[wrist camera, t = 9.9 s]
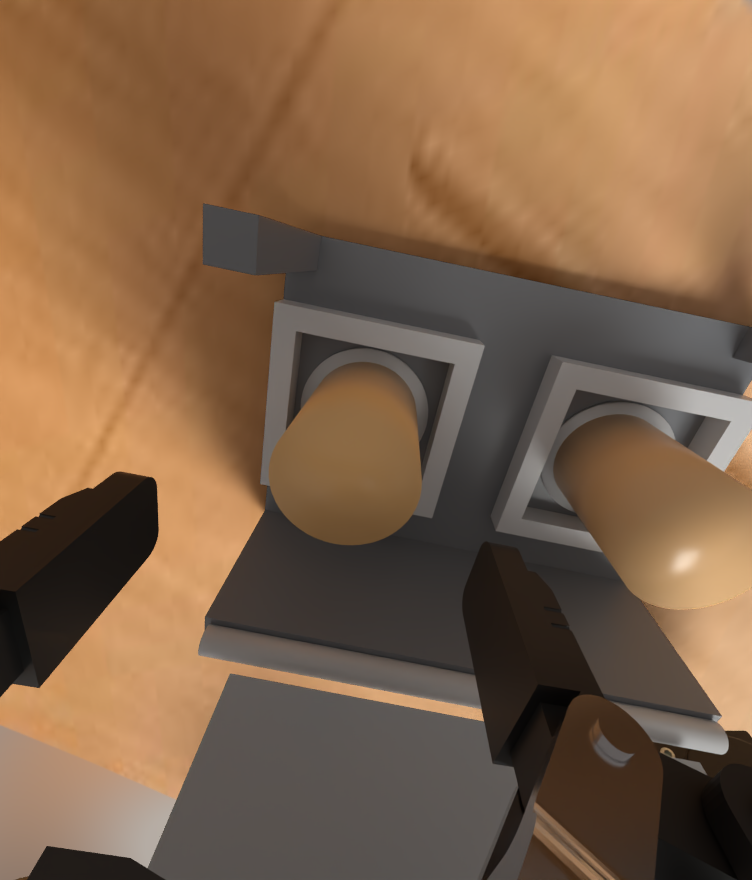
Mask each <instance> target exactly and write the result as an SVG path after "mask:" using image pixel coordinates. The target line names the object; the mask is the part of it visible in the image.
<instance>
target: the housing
mask: <svg viewBox="0 0 752 880" xmlns="http://www.w3.org/2000/svg"><path fill="white" fill-rule="evenodd" d="M203 264H204V265H208V266H213V267H218V268H223V269H227V270H232V271H237V272H242V273H247V274H251V275H266V274H279V273H286V277H285V288H284V299H282V300H279V301H275V302H274V314H273V327H272V340H271V352H270V365H269V378H268V391H267V403H266V416H265V429H264V442H263V454H262V467H261V480H260V484H262V485H267V494H266V505H265V511H264V513H263V515H262V517H261V518H260V520H259V522H258V524H257V525H256V527H255V529H254V531H253V533H252V534H251V536H250V538H249V540H248V541H247V543H246V545H245V547H244V549H243V550H242V552H241V554H240V556H239V557H238V559H237V561H236V563H235V565H234V566H233V568H232V570H231V572H230V573H229V575H228V577H227V579H226V580H225V582H224V584H223V586H222V588H221V589H220V591H219V593H218V595H217V596H216V598H215V600H214V602H213V604H212V605H211V607H210V609H209V611H208V612H207V614H206V616H205V631H204V633H203V636H202V638H201V641H200V645H199V650H198V654H199V655H200V656H205V657H210V658H215V659H221V660H226V661H231V662H236V663H242V664H247V665H252V666H258V667H263V668H268V669H273V670H279V671H284V672H289V673H294V674H300V675H305V676H310V677H315V678H321V679H326V680H331V681H336V682H342V683H347V684H352V685H357V686H363V687H368V688H373V689H378V690H384V691H389V692H394V693H399V694H405V695H410V696H415V697H420V698H426V699H431V700H436V701H442V702H447V703H452V704H457V705H463V706H468V707H473V708H478V709H482V708H481V703H480V698H479V693H478V688H477V683H476V678H475V673H474V668H473V663H472V658H471V653H470V648H469V643H468V638H467V633H466V628H465V623H464V618H463V612H462V599H463V592H464V588H465V585H466V582H467V580H468V577H469V575H470V572H471V570H472V567H473V565H474V562H475V559H476V557H477V554H478V552H479V549H480V547H481V545H482V544H483V543H484V542H485V541H487V542H492V543H497V544H503V545H508V546H513V547H516V548H517V549H518V550H519V552H520V554H521V556H522V559H523V561H524V563H525V565H526V568H527V570H528V571H532V572H536V573H537V574H538V575H539V576H540V577H541V578H542V580H543V581H544V582H545V583H546V584H547V585H548V586H549V587H550V588H551V589H552V591H553V593H554V595H555V597H556V599H557V601H558V603H559V605H560V607H561V609H562V610H561V613H563V614H564V616H565V618H566V620H567V622H568V624H569V626H570V627H569V629H570V630H571V631H572V632H573V634H574V636H575V638H576V640H577V642H578V644H579V646H580V648H581V650H582V652H583V655H584V657H585V659H586V661H587V663H588V665H589V667H590V669H591V671H592V673H593V675H594V677H595V679H596V681H597V683H598V685H599V687H600V689H601V691H602V693H603V696H604V697H605V699H607V700H609V701H611V702H613V703H614V704H616V705H617V706H619V707H620V708H622V709H623V710H624V711H626V712H627V713H628V714H629V715H630V716H631V717H633V718H634V719H635V720H636V721H637V722H638V723H639V725H640V726H641V727H642V728H643V729H644V730H645V732H646V733H647V734H648V736H649V737H650V739H651V740H652V742H657V743H662V744H668V745H673V746H678V747H683V748H689V749H694V750H699V751H704V752H710V753H715V754H720V755H723V754H725V753H726V752H727V751H728V747H729V742H728V738H727V735H726V733H725V731H724V729H723V728H722V727H721V725H720V724H718V723H717V721H718V720H719V719H720V718H721V717H722V716H721V714H720V713H719V711H718V710H717V709H716V707H715V706H714V704H713V703H712V701H711V700H710V699H709V697H708V696H707V694H706V693H705V691H704V690H703V689H702V687H701V686H700V684H699V683H698V681H697V680H696V679H695V677H694V676H693V674H692V673H691V672H690V670H689V669H688V667H687V666H686V664H685V663H684V662H683V660H682V659H681V657H680V656H679V654H678V653H677V652H676V650H675V649H674V647H673V646H672V644H671V643H670V642H669V640H668V639H667V637H666V636H665V634H664V633H663V632H662V630H661V629H660V627H659V626H658V625H657V623H656V622H655V620H654V619H653V617H652V616H651V615H650V613H649V612H648V610H647V609H646V607H645V606H644V605H643V603H642V602H641V600H642V601H644V602H646V603H648V604H651V605H654V606H657V607H661V608H666V609H675V610H689V609H699V608H704V607H709V606H713V605H717V604H720V603H723V602H725V601H728V600H731V599H733V598H735V597H737V596H739V595H741V594H743V593H744V592H746V591H748V590H749V589H751V588H752V490H751V489H750V488H748V487H746V486H745V485H743V484H742V483H740V482H739V481H737V480H736V479H734V478H733V477H731V476H730V475H728V474H727V473H725V472H724V471H725V469H726V468H727V466H728V464H729V463H730V461H731V460H732V458H733V457H734V455H735V454H736V452H737V451H738V449H739V448H740V446H741V444H742V443H743V441H744V440H745V438H746V437H747V435H748V434H749V432H750V431H751V429H752V398H749V397H747V396H744V395H743V393H744V392H745V390H746V388H747V387H748V385H749V384H750V382H751V380H752V327H748V326H743V325H739V324H734V323H729V322H724V321H720V320H715V319H710V318H706V317H701V316H696V315H691V314H687V313H682V312H677V311H673V310H668V309H663V308H658V307H654V306H649V305H644V304H640V303H635V302H630V301H625V300H621V299H616V298H611V297H607V296H602V295H597V294H592V293H588V292H583V291H578V290H574V289H569V288H564V287H559V286H555V285H550V284H545V283H541V282H536V281H531V280H526V279H522V278H517V277H512V276H508V275H503V274H498V273H493V272H489V271H484V270H479V269H475V268H470V267H465V266H460V265H456V264H451V263H446V262H442V261H437V260H432V259H428V258H423V257H418V256H413V255H409V254H404V253H399V252H395V251H390V250H385V249H380V248H376V247H371V246H366V245H362V244H357V243H352V242H347V241H343V240H338V239H333V238H329V237H324V236H320V235H317V234H314V233H311V232H308V231H305V230H302V229H299V228H296V227H293V226H290V225H287V224H284V223H281V222H278V221H275V220H272V219H269V218H266V217H263V216H260V215H256V214H251V213H246V212H241V211H237V210H232V209H227V208H223V207H218V206H213V205H209V204H204V203H203ZM353 362H371V363H376V364H380V365H382V366H385V367H387V368H389V369H391V370H392V371H394V372H395V373H396V374H398V375H399V376H400V377H401V378H402V379H403V380H404V381H405V382H406V384H407V385H408V386H409V388H410V390H411V392H412V394H413V397H414V399H415V403H416V411H417V424H418V436H419V449H420V462H421V475H422V490H421V495H420V500H419V502H418V505H417V507H416V509H415V511H414V513H413V515H412V516H411V517H410V519H409V520H408V521H407V522H406V523H405V524H404V525H403V526H402V527H401V528H400V529H399V530H397V531H396V532H395V533H393V534H391V535H390V536H388V537H386V538H384V539H381V540H379V541H376V542H372V543H368V544H362V545H339V544H333V543H329V542H325V541H322V540H319V539H317V538H314V537H312V536H310V535H308V534H306V533H305V532H303V531H302V530H300V529H299V528H298V527H296V526H295V525H294V524H293V523H291V522H290V521H289V520H288V519H287V517H286V516H285V515H284V514H283V513H282V511H281V510H280V508H279V507H278V505H277V503H276V502H275V499H274V497H273V495H272V492H271V488H270V484H269V463H270V458H271V455H272V452H273V450H274V448H275V446H276V444H277V442H278V441H279V439H280V438H281V437H282V435H283V434H284V432H285V431H286V430H287V428H288V427H289V426H290V424H291V423H292V421H293V420H294V419H295V417H296V416H297V414H298V413H299V412H300V410H301V409H302V408H303V406H304V405H305V403H306V402H307V401H308V399H309V398H310V396H311V395H312V394H313V392H314V391H315V390H316V388H317V387H318V385H319V384H320V383H321V381H322V380H323V379H324V378H325V377H326V376H327V375H328V374H329V373H330V372H331V371H333V370H335V369H336V368H338V367H340V366H343V365H345V364H349V363H353Z"/></svg>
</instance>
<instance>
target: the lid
mask: <svg viewBox="0 0 752 880" xmlns="http://www.w3.org/2000/svg"><path fill="white" fill-rule="evenodd" d="M671 758H673V757H671ZM673 759H675V760H677V761H679V762H681V763H683V764H685V765H687V766H689V767H691V768H693V769H695V770H697V771H699V772H702V773H704V774H706V772H705V770H704V769H703V767H702V765H701V764H700V762H694V761H689V760H684V759H678V758H673ZM706 775H707V774H706ZM517 785H518V783H517V779H516V775H515V771H514V767H509V766H503V765H496V764H493V763H492V758H491V753H490V748H489V743H488V738H487V733H486V728H485V723H484V722H483V721H478V720H473V719H467V718H462V717H457V716H452V715H446V714H441V713H436V712H431V711H425V710H420V709H415V708H409V707H404V706H399V705H394V704H388V703H383V702H378V701H373V700H367V699H362V698H357V697H351V696H346V695H341V694H336V693H330V692H325V691H320V690H315V689H309V688H304V687H299V686H293V685H288V684H283V683H278V682H272V681H267V680H262V679H257V678H251V677H246V676H241V675H235V674H230V675H229V678H228V680H227V682H226V685H225V687H224V689H223V692H222V694H221V696H220V699H219V701H218V703H217V706H216V708H215V711H214V713H213V715H212V718H211V720H210V722H209V725H208V727H207V729H206V732H205V734H204V736H203V739H202V741H201V744H200V746H199V748H198V751H197V753H196V755H195V758H194V760H193V762H192V765H191V767H190V769H189V772H188V774H187V777H186V779H185V781H184V784H183V786H182V788H181V791H180V793H179V795H178V798H177V800H176V803H175V805H174V807H173V810H172V812H171V814H170V817H169V819H168V822H167V824H166V826H165V828H164V831H163V833H162V835H161V838H160V840H159V843H158V845H157V848H156V850H155V852H154V855H153V857H152V859H151V861H150V864H149V866H148V869H149V870H151V871H152V872H154V873H156V874H157V875H159V876H160V877H162V878H164V879H165V880H477V879H478V877H479V874H480V872H481V869H482V867H483V865H484V862H485V860H486V857H487V855H488V852H489V850H490V847H491V845H492V842H493V840H494V838H495V835H496V833H497V830H498V828H499V825H500V823H501V820H502V818H503V816H504V813H505V811H506V808H507V806H508V803H509V801H510V798H511V796H512V794H513V792H514V790H515V788H516V786H517Z"/></svg>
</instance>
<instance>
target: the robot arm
mask: <svg viewBox="0 0 752 880" xmlns="http://www.w3.org/2000/svg"><path fill="white" fill-rule="evenodd" d="M158 530H159V528H158V503H157V484H156V481H155V480H154V478H152V477H146V476H141V475H136V474H131V473H125V472H115V473H114V474H112V475H111V476H109V477H108V478H107V479H105V480H104V481H103V482H101V483H100V484H99V485H97V486H96V487H95V488H93V489H91V488H86V489H84V490H81V491H79V492H76V493H74V494H71V495H69V496H66V497H64V498H61V499H60V500H58V501H57V502H55V503H54V504H53V505H51V506H50V507H48V508H47V509H45V510H44V511H43V512H41V513H40V515H39V517H34V518H33V519H31V520H30V521H29V522H27V523H26V524H24V525H23V526H22V528H21V530H16V531H14V532H13V533H12V534H10V535H9V536H7V537H6V538H4V539H3V540H2V541H0V697H1V696H2V694H3V693H4V692H5V691H6V690H7V689H8V688H9V687H10V686H11V685H12V684H18V685H24V686H30V687H36V688H40V686H41V685H42V684H43V683H44V682H45V680H46V679H47V678H48V677H49V676H50V674H51V673H52V672H53V671H54V670H55V668H56V667H57V666H58V665H59V664H60V662H61V661H62V660H63V659H64V658H65V656H66V655H67V654H68V653H69V652H70V650H71V649H72V648H73V647H74V646H75V644H76V643H77V642H78V641H79V640H80V638H81V637H82V636H83V635H84V634H85V632H86V631H87V630H88V629H89V628H90V626H91V625H92V624H93V623H94V622H95V620H96V619H97V618H98V617H99V616H100V614H101V613H102V612H103V611H104V610H105V608H106V607H107V606H108V605H109V604H110V602H111V601H112V600H113V599H114V598H115V596H116V595H117V594H118V593H119V592H120V590H121V589H122V588H123V587H124V586H125V584H126V583H127V582H128V581H129V580H130V578H131V577H132V576H133V575H134V574H135V572H136V571H137V570H138V569H139V568H140V566H141V565H142V564H143V563H144V562H145V560H146V559H147V558H148V557H149V555H150V554H151V552H152V551H153V549H154V546H155V544H156V541H157V537H158ZM561 610H562V609H561V607H560V605H559V603H558V601H557V599H556V597H555V595H554V593H553V591H552V589H551V588H550V587H549V586H548V585H547V584H546V583H545V582H544V581H543V580H542V578H541V577H540V576H539V575H538V574H537V573H536V572H532V571H528V570H527V568H526V565H525V563H524V561H523V559H522V556H521V554H520V552H519V550H518V549H517V548H516V547H513V546H508V545H503V544H497V543H492V542H487V541H485V542H484V543H483V544H482V545H481V547H480V549H479V552H478V554H477V557H476V559H475V562H474V565H473V567H472V570H471V572H470V575H469V577H468V580H467V582H466V585H465V588H464V592H463V599H462V612H463V618H464V623H465V628H466V633H467V638H468V643H469V648H470V653H471V658H472V663H473V668H474V673H475V678H476V683H477V688H478V693H479V698H480V703H481V708H482V713H483V718H484V723H485V728H486V733H487V738H488V743H489V748H490V753H491V758H492V763H493V764H496V765H503V766H509V767H514V771H515V775H516V779H517V783H518V785H517V786H516V788H515V790H514V792H513V794H512V796H511V798H510V801H509V803H508V806H507V808H506V811H505V813H504V816H503V818H502V820H501V823H500V825H499V828H498V830H497V833H496V835H495V838H494V840H493V842H492V845H491V847H490V850H489V852H488V855H487V857H486V860H485V862H484V865H483V867H482V869H481V872H480V874H479V877H478V879H477V880H752V768H751V767H748V766H745V765H742V764H729V765H727V766H725V767H724V768H723V769H722V770H721V771H720V772H719V773H718V774H717V775H716V776H715V777H714V778H712V777H710V776H708V775H706V774H704V773H702V772H699V771H697V770H695V769H693V768H691V767H689V766H687V765H685V764H683V763H681V762H679V761H677V760H675V759H673V758H671V757H669V756H667V755H665V754H663V753H661V752H659V751H657V749H656V747H655V745H654V743H653V742H652V740H651V739H650V737H649V736H648V734H647V733H646V732H645V730H644V729H643V728H642V727H641V726H640V725H639V723H638V722H637V721H636V720H635V719H634V718H633V717H631V716H630V715H629V714H628V713H627V712H626V711H624V710H623V709H622V708H620V707H619V706H617V705H616V704H614V703H613V702H611V701H609V700H607V699H605V697H604V696H603V693H602V691H601V689H600V687H599V685H598V683H597V681H596V679H595V677H594V675H593V673H592V671H591V669H590V667H589V665H588V663H587V661H586V659H585V657H584V655H583V652H582V650H581V648H580V646H579V644H578V642H577V640H576V638H575V636H574V634H573V632H572V631H571V630H570V629H569V627H570V626H569V624H568V622H567V620H566V618H565V616H564V614H563V613H561ZM17 880H165V879H164V878H162V877H160V876H159V875H157V874H156V873H154V872H152V871H151V870H149V869H147V868H146V867H144V866H142V865H141V864H139V863H138V862H136V861H134V860H133V859H131V858H126V857H119V856H112V855H105V854H98V853H92V852H85V851H77V850H70V849H64V848H57V847H50V846H47V847H46V848H45V850H44V852H43V853H42V855H41V857H40V858H39V860H38V862H37V864H36V865H35V867H34V869H33V870H32V872H31V874H30V875H29V876H28V877H23V878H19V879H17Z"/></svg>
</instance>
